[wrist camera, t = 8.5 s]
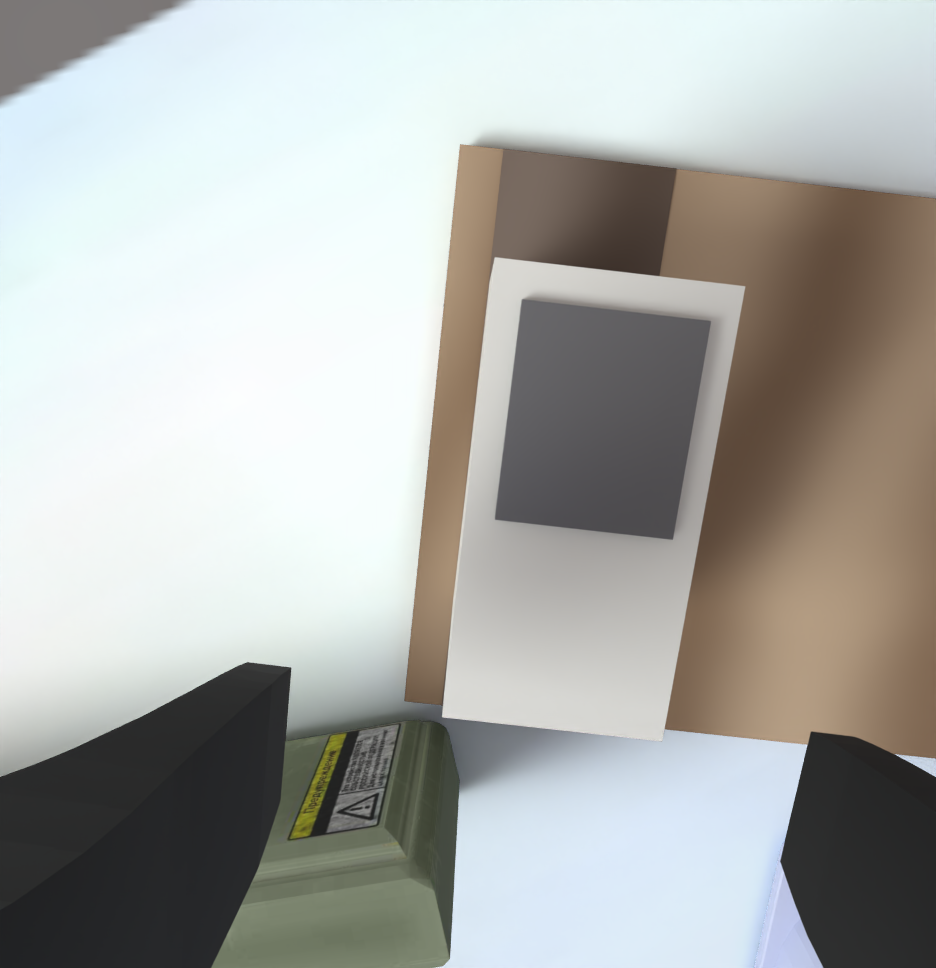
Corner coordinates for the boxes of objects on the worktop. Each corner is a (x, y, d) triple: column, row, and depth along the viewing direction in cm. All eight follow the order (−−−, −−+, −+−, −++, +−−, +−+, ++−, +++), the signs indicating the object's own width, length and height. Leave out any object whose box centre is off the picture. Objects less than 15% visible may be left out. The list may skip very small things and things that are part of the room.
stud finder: (656, 301, 18) (749, 285, 12) (606, 616, 19) (665, 747, 13) (489, 282, 18) (495, 255, 12) (453, 598, 19) (441, 723, 13)
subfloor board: (1124, 225, 18) (1148, 222, 17) (979, 752, 21) (995, 765, 20) (460, 150, 18) (460, 143, 17) (406, 690, 20) (404, 701, 20)
